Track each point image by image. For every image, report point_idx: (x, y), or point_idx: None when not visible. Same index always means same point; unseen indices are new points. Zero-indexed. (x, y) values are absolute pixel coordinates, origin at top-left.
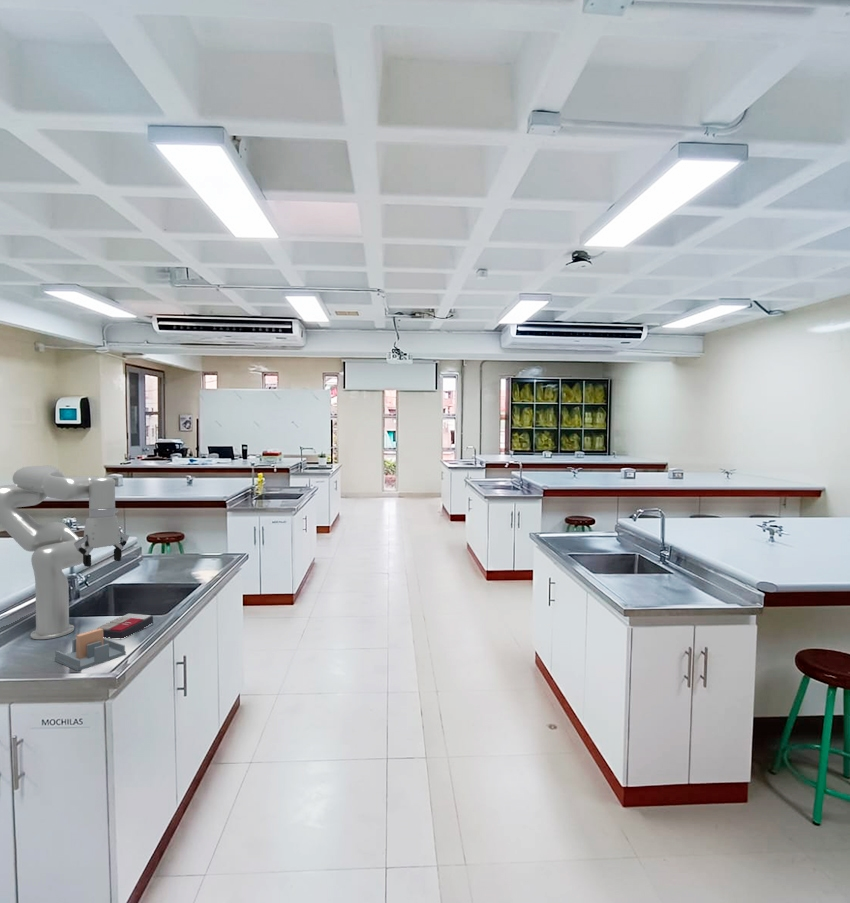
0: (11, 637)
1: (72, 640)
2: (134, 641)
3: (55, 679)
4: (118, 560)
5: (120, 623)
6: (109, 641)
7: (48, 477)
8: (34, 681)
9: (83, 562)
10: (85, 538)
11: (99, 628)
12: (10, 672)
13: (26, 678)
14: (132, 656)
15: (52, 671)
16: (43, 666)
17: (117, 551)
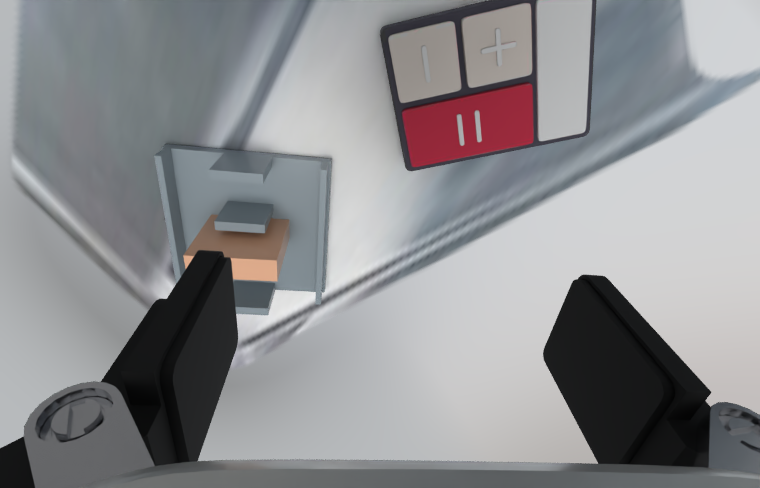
0: None
1: (210, 170)
2: (408, 219)
3: (126, 278)
4: (544, 359)
5: (469, 87)
6: (318, 233)
7: None
8: (78, 245)
9: (154, 314)
10: None
11: (274, 260)
12: (24, 106)
13: (62, 205)
14: (326, 310)
15: (135, 222)
16: (124, 158)
17: (607, 442)
